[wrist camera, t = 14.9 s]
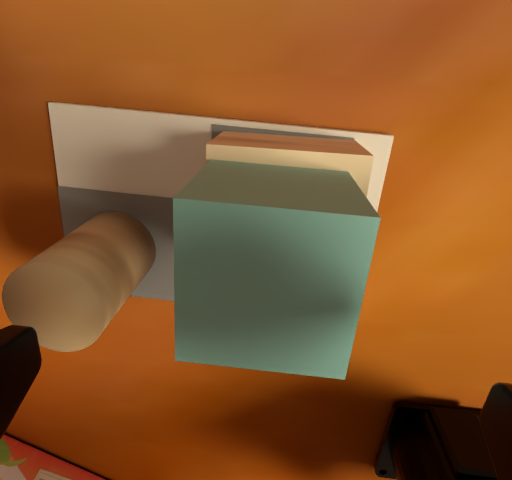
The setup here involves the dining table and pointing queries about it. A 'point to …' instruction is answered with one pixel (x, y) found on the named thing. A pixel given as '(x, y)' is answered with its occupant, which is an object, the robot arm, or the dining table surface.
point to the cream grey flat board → (156, 168)
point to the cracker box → (35, 464)
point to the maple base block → (294, 153)
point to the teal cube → (270, 267)
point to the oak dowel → (80, 281)
